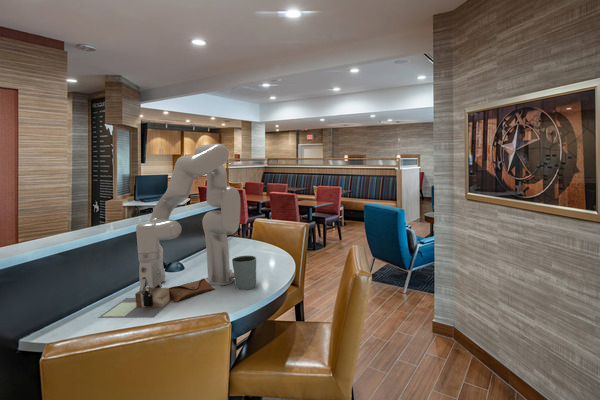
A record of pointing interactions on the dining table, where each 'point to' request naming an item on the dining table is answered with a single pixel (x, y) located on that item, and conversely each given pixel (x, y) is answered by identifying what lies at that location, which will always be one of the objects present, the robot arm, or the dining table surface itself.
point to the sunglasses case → (189, 290)
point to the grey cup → (244, 272)
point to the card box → (154, 297)
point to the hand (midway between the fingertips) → (153, 301)
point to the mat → (132, 310)
